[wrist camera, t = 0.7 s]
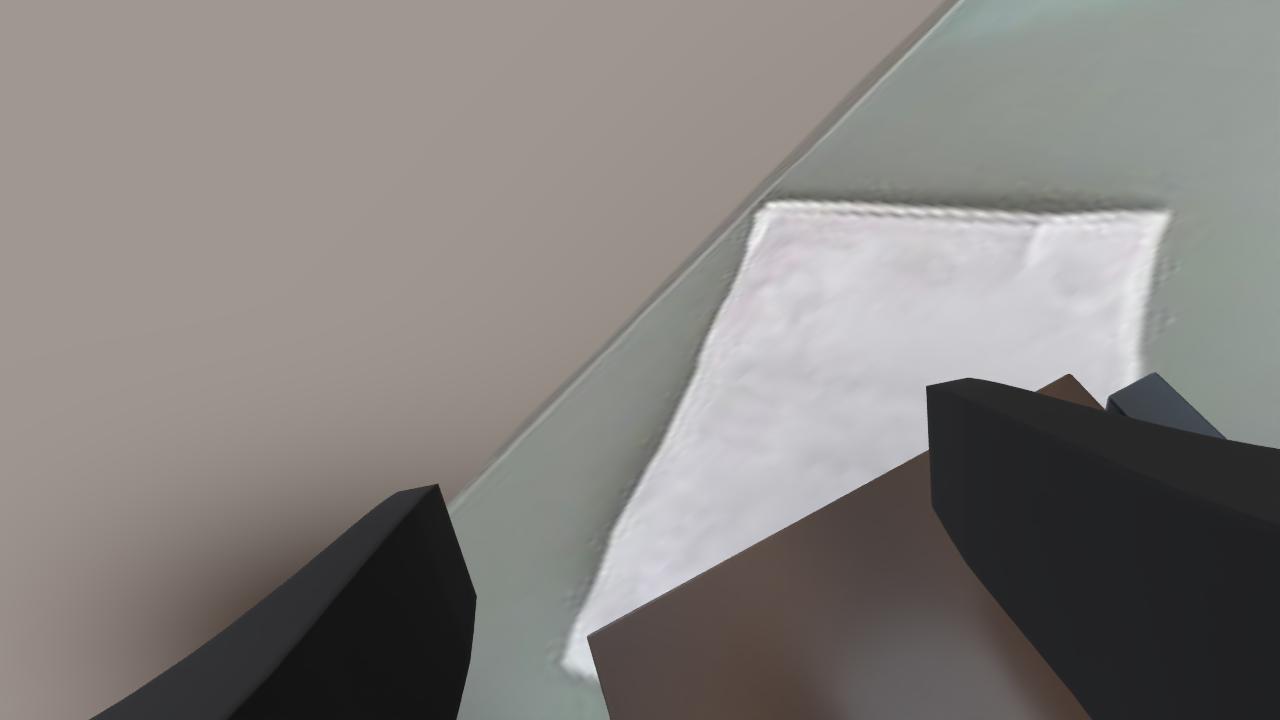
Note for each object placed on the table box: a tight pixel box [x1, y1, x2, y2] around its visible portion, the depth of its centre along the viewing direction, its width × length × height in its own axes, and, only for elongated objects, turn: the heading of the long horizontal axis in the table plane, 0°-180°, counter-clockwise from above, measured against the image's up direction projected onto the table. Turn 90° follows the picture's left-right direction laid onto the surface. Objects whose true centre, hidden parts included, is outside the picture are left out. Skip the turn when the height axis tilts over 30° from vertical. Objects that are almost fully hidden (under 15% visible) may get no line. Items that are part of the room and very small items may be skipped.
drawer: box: [1105, 373, 1227, 440], centre depth 16 cm, size 17×11×7 cm, turn 112°
